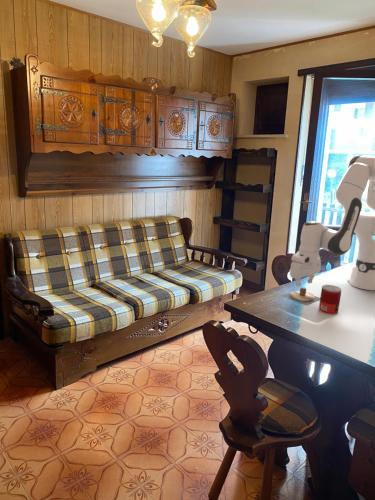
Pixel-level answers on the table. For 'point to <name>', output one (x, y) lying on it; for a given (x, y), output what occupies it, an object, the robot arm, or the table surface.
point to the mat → (302, 301)
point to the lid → (302, 295)
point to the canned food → (330, 299)
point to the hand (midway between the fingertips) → (303, 284)
